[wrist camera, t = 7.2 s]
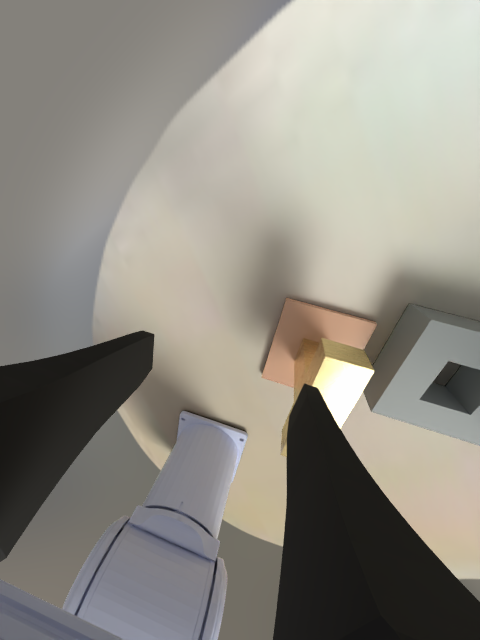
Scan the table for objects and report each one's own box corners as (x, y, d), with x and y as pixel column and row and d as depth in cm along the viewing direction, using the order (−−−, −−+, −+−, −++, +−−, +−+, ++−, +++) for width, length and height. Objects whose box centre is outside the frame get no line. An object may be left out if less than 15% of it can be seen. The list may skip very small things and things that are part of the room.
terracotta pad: (335, 397, 21) (336, 400, 21) (262, 374, 22) (261, 377, 21) (375, 321, 17) (377, 324, 17) (286, 297, 18) (286, 299, 18)
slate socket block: (457, 415, 19) (484, 447, 16) (360, 385, 20) (371, 411, 17) (530, 334, 16) (579, 358, 13) (409, 303, 16) (431, 319, 14)
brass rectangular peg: (310, 392, 21) (317, 467, 15) (285, 384, 21) (280, 454, 15) (346, 316, 17) (374, 370, 11) (314, 307, 18) (325, 356, 11)
